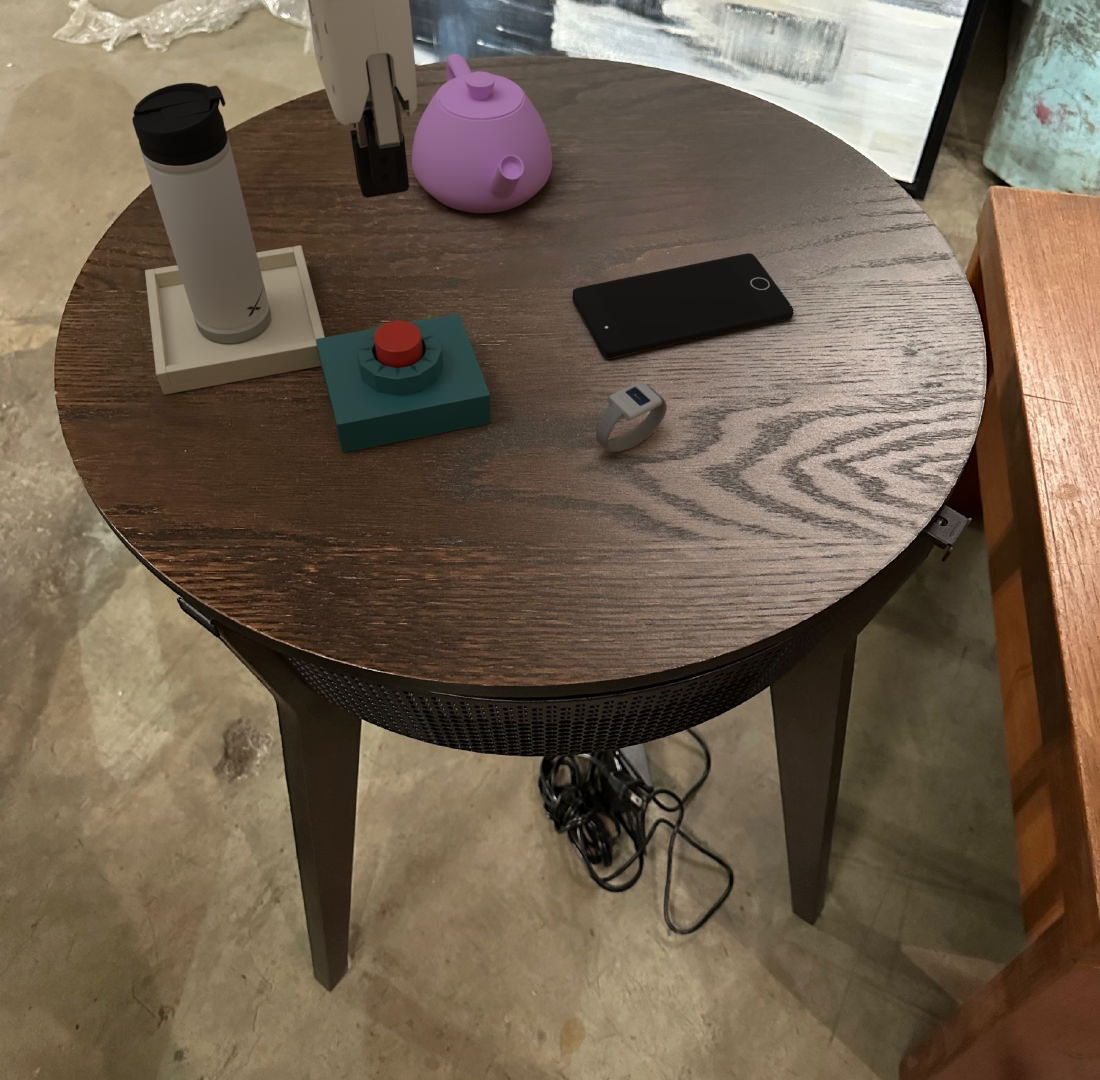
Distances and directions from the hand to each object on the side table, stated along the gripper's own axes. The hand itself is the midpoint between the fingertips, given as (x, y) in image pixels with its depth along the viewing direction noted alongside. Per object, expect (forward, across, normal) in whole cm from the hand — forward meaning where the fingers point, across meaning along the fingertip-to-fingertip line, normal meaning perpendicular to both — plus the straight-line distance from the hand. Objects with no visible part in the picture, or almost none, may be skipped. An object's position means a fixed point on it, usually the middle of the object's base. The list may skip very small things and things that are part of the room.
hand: (383, 187), depth 69 cm
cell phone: (+20, -4, +26) cm, 32 cm away
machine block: (+19, 0, 0) cm, 19 cm away
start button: (+15, 0, 0) cm, 15 cm away
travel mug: (+18, -12, -12) cm, 25 cm away
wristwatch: (+20, +10, +16) cm, 27 cm away
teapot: (+20, -27, +14) cm, 36 cm away
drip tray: (+19, -12, -12) cm, 26 cm away
